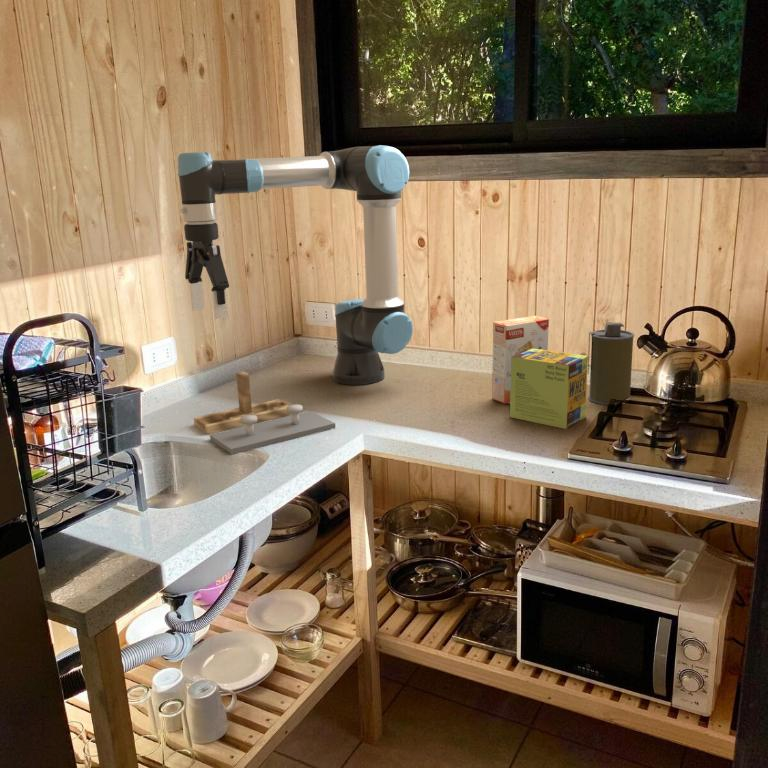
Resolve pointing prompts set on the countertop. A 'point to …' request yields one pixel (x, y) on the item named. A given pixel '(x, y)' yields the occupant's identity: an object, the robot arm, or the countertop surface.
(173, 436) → the countertop surface
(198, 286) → the robot arm
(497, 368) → the cracker box
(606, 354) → the canister
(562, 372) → the protein box
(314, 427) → the board
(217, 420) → the ball track frame
